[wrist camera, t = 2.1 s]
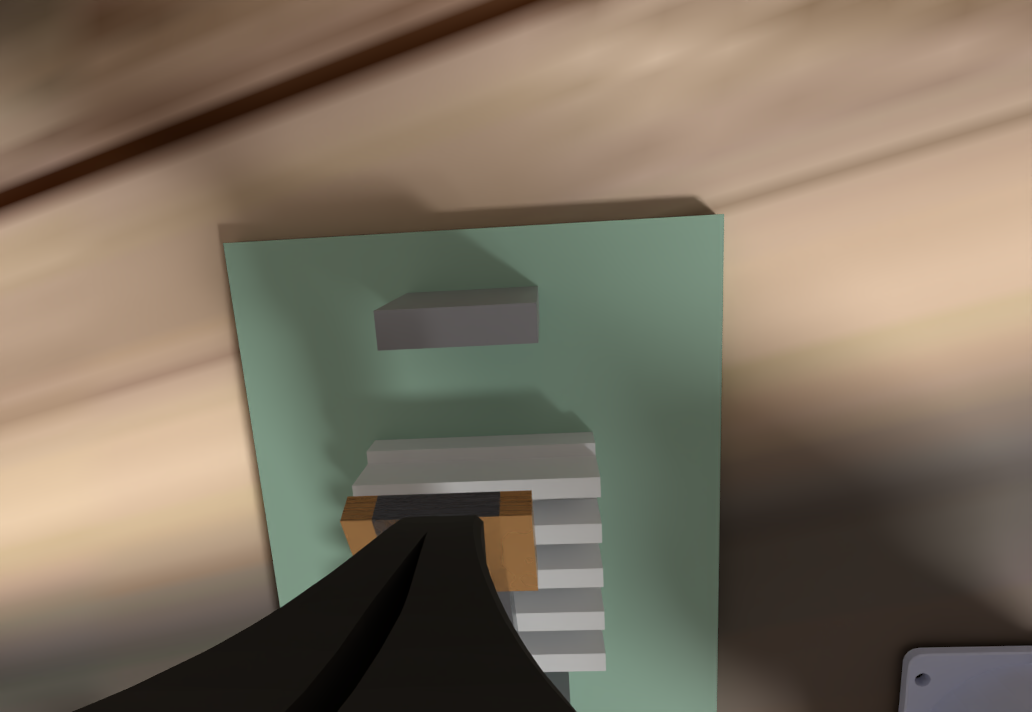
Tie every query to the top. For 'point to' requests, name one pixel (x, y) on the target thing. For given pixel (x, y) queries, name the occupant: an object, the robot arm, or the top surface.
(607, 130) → the top surface
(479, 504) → the brown and grey bar
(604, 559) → the heatsink board
